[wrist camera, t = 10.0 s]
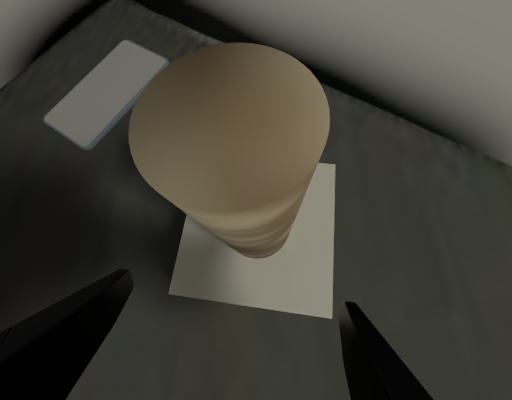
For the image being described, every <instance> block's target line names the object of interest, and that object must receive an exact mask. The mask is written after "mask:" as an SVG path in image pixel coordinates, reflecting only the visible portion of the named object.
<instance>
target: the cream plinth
mask: <svg viewBox="0 0 512 400" xmlns="http://www.w3.org/2000/svg"><path fill="white" fill-rule="evenodd" d="M334 205H335V164H324V163H318V164H317V167H316V169H315V172H314V174H313V177H312V179H311V182H310V184H309V186H308V189H307V191H306V194H305V196H304V199H303V201H302V204H301V206H300V209H299V211H298V214H297V216H296V219H295V221H294V224H293V226H292V228H291V231H290V233H289V236H288V238H287V241H286V242H285V244H284V245H283V247H282V248H281V249H280V250H279V251H278V252H276V253H275V254H273V255H271V256H269V257H266V258H260V259H253V258H248V257H245V256H243V255H241V254H240V253H238V252H237V251H235V250H234V249H233V248H231V247H230V246H229V245H227V244H226V243H225V242H223V241H222V240H221V239H219V238H218V237H217V236H215V235H214V234H213V233H211V232H210V231H209V230H207V229H206V228H205V227H203V226H202V225H201V224H199V223H198V222H197V221H195V220H194V219H193V218H191V217H190V216H189V215H186V220H185V224H184V228H183V233H182V237H181V241H180V245H179V250H178V254H177V258H176V263H175V267H174V271H173V276H172V280H171V284H170V289H169V293H168V294H171V295H178V296H184V297H191V298H198V299H204V300H211V301H217V302H224V303H231V304H237V305H244V306H251V307H257V308H264V309H270V310H277V311H284V312H290V313H297V314H304V315H310V316H317V317H323V318H330V319H332V299H333V252H334Z"/></svg>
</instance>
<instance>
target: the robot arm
mask: <svg viewBox="0 0 512 400" xmlns="http://www.w3.org/2000/svg"><path fill="white" fill-rule="evenodd" d="M133 287H134V283H133V279H132V275H131V272H130V271H129V270H124V269H119V270H117V271H115V272H113V273H111V274H110V275H108V276H106V277H104V278H102V279H100V280H98V281H96V282H94V283H93V284H91V285H89V286H87V287H85V288H83V289H81V290H79V291H77V292H76V293H74V294H72V295H70V296H68V297H66V298H64V299H62V300H61V301H59V302H57V303H55V304H53V305H51V306H49V307H47V308H45V309H44V310H42V311H40V312H38V313H36V314H34V315H32V316H30V317H28V318H27V319H25V320H23V321H21V322H19V323H17V324H15V325H14V326H13V327H9V328H8V329H6V330H4V331H2V332H0V400H65V399H66V398H67V396H68V395H69V393H70V392H71V390H72V389H73V387H74V386H75V384H76V383H77V381H78V379H79V378H80V376H81V375H82V373H83V372H84V370H85V369H86V367H87V366H88V364H89V362H90V361H91V359H92V358H93V356H94V355H95V353H96V352H97V350H98V349H99V347H100V346H101V344H102V342H103V341H104V339H105V338H106V336H107V335H108V333H109V332H110V330H111V328H112V327H113V325H114V324H115V322H116V320H117V318H118V316H119V314H120V313H121V311H122V309H123V307H124V305H125V303H126V301H127V299H128V297H129V296H130V294H131V292H132V290H133ZM339 325H340V334H341V344H342V354H343V362H344V368H345V373H346V378H347V383H348V388H349V393H350V397H351V400H433V398H432V397H431V396H430V395H429V394H428V392H427V391H426V390H425V389H424V387H423V386H422V385H421V384H420V382H419V381H418V380H417V379H416V377H415V376H414V375H413V374H412V372H411V371H410V370H409V369H408V367H407V366H406V365H405V364H404V362H403V361H402V360H401V359H400V357H399V356H398V355H397V354H396V353H395V351H394V350H393V349H392V348H391V346H390V345H389V344H388V343H387V341H386V340H385V339H384V338H383V336H382V335H381V334H380V333H379V331H378V330H377V329H376V328H375V326H374V325H373V324H372V323H371V321H370V320H369V319H368V318H367V316H366V315H365V314H364V313H363V312H362V310H361V309H360V308H359V307H358V305H357V304H356V303H354V302H349V301H344V302H343V305H342V308H341V311H340V315H339Z"/></svg>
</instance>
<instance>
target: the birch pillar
mask: <svg viewBox="0 0 512 400" xmlns="http://www.w3.org/2000/svg"><path fill="white" fill-rule="evenodd" d="M329 125H330V114H329V106H328V102H327V98H326V96H325V93H324V91H323V88H322V87H321V85H320V83H319V82H318V80H317V79H316V77H315V76H314V75H313V74H312V72H311V71H310V70H308V68H306V67H305V66H304V65H303V64H302V63H300V62H299V61H298V60H296V59H295V58H293V57H292V56H290V55H288V54H286V53H284V52H282V51H279V50H277V49H274V48H271V47H267V46H263V45H258V44H252V43H226V44H218V45H213V46H209V47H205V48H202V49H199V50H196V51H193V52H191V53H189V54H186V55H184V56H182V57H181V58H179V59H177V60H175V61H174V62H172V63H171V64H169V65H168V66H166V67H165V68H164V69H163V70H161V71H160V72H159V73H158V74H157V75H156V76H155V77H154V78H153V79H152V80H151V81H150V82H149V83H148V85H147V86H146V87H145V88H144V90H143V91H142V93H141V95H140V96H139V98H138V100H137V102H136V104H135V106H134V109H133V111H132V115H131V119H130V124H129V146H130V151H131V155H132V158H133V160H134V163H135V165H136V167H137V169H138V171H139V172H140V174H141V175H142V177H143V178H144V179H145V180H146V182H147V183H148V184H149V185H150V186H151V187H153V188H154V189H155V190H156V191H157V192H158V193H160V194H161V195H162V196H164V197H165V198H166V199H168V200H169V201H170V202H171V203H173V204H174V205H175V206H177V207H178V208H179V209H181V210H182V211H183V212H185V213H186V214H187V215H189V216H190V217H191V218H193V219H194V220H195V221H197V222H198V223H199V224H201V225H202V226H203V227H205V228H206V229H207V230H209V231H210V232H211V233H213V234H214V235H215V236H217V237H218V238H219V239H221V240H222V241H223V242H225V243H226V244H227V245H229V246H230V247H231V248H233V249H234V250H235V251H237V252H238V253H240V254H241V255H243V256H245V257H248V258H253V259H260V258H266V257H269V256H271V255H273V254H275V253H276V252H278V251H279V250H280V249H281V248H282V247H283V245H284V244H285V242H286V241H287V238H288V236H289V233H290V231H291V228H292V226H293V224H294V221H295V219H296V216H297V214H298V211H299V209H300V206H301V204H302V201H303V199H304V196H305V194H306V191H307V189H308V186H309V184H310V182H311V179H312V177H313V174H314V172H315V169H316V167H317V164H318V162H319V159H320V157H321V154H322V152H323V149H324V147H325V145H326V141H327V137H328V133H329Z"/></svg>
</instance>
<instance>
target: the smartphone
mask: <svg viewBox="0 0 512 400" xmlns="http://www.w3.org/2000/svg"><path fill="white" fill-rule="evenodd" d="M169 64H170V63H169V61H168V59H167V58H165V57H163V56H161V55H159V54H157V53H154V52H152V51H150V50H148V49H146V48H144V47H142V46H140V45H138V44H136V43H134V42H132V41H130V40H123V41H122V42H120V43H119V44H118V45H117V46H116V47H115V48H114V49H113V50H112V51H111V52H110V53H109V54H108V55H107V56H106V57H105V58H104V59H103V60H102V61H101V62H100V63H99V64H98V65H97V66H96V67H95V68H94V69H93V70H91V71H90V72H89V73H88V74H87V75H86V76H85V77H84V78H83V79H82V80H81V81H80V82H79V83H78V84H77V85H76V86H75V87H74V88H73V89H72V90H71V91H70V92H69V93H68V94H67V95H66V96H65V97H64V98H63V99H62V100H61V101H59V102H58V103H57V104H56V105H55V106H54V107H53V108H52V109H51V110H50V111H49V112H48V113H47V114H46V115H45V116H44V119H43V121H44V123H45V124H46V125H48V126H49V127H50V128H52V129H53V130H55V131H56V132H58V133H59V134H61V135H62V136H63V137H65V138H66V139H68V140H69V141H71V142H72V143H74V144H75V145H76V146H78V147H79V148H81V149H82V150H84V151H88V150H91V149H92V148H93V147H94V146H95V145H96V144H97V143H98V142H99V141H100V140H101V139H102V138H103V137H104V136H105V135H106V134H107V133H108V132H109V131H110V130H111V129H112V128H113V127H114V126H115V124H116V123H117V122H118V121H119V120H120V119H121V118H122V117H123V116H124V115H125V114H126V113H127V112H128V111H129V110H130V109H131V108H132V107H133V106H134V105H135V103H136V102H137V100H138V98H139V96H140V95H141V93H142V91H143V90H144V88H145V87H146V86H147V85H148V83H149V82H150V81H151V80H152V79H153V78H154V77H155V76H156V75H157V74H158V73H159V72H160V71H161V70H163V69H164V68H165V67H166V66H168V65H169Z"/></svg>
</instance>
